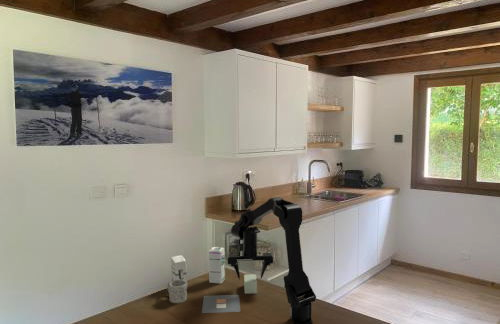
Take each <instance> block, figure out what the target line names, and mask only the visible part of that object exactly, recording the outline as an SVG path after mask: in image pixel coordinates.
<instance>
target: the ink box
mask: <svg viewBox="0 0 500 324" xmlns="http://www.w3.org/2000/svg"><path fill="white" fill-rule="evenodd" d="M170 263H171V265H170V266H171V281H174V280H184V281H186V282H187V283H188V273H187V272H188V270H187V260H186V259H185V257H184V256H183V255H182V254H181V255H174V256H171V257H170Z"/></svg>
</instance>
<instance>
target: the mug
mask: <svg viewBox="0 0 500 324" xmlns="http://www.w3.org/2000/svg"><path fill="white" fill-rule="evenodd" d="M187 290H188V281H187V282H186V281H184V280H174V281H172V280H171V281H168V282H167V293H168V295H169V302H170V303H172V304H181V303H184V302H186V301H187V300H188V298H187V297H188V293H187Z"/></svg>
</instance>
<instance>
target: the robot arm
mask: <svg viewBox="0 0 500 324" xmlns="http://www.w3.org/2000/svg"><path fill="white" fill-rule="evenodd" d="M271 213H273V216H276V217H277V218H278V221H279V224H280V226H281V227H282V229H283V230H284V235H285V243H286V244H285V245H286V254H287V255H286V256H287V265H288V272H287V275H284V276H283V281H284V282H283V283H284V286H283V287H284V289H285V293H286V298H287V299H286V300H287V303H288V304H289V305H290V309H289V310H290V315H289V316H290V319H291V321H292V322H293V324H313V320H312V303H314V302H315V301H316V299H317V295H316V294H315V291H314V290H313V287H312V286H311V284H310V281H309V276H308V275H307V274H306V272H305V271H304V268H303V267H304V266H303V257H302V247H301V246H302V245H301V237H300V236H301V235H300V228H301V225H302V222H303V209H302V207H301V206H300V205H299V204H298V203H294V202H291V201H289V200H285V199H283V198H282V197H279V196H277V197H270V198H269V199H268V200H267V201H265V202H264V203H261V204H260V205H259V206H257V207H256V208H255V209H252V210H249V211H248V210H247V211H245V212H242V213H241V214H240V217H239V220H236V221H234V224H233V225H232V227H231V229H230V233H231V235H232V236H234V237H236V238H238V239H240V240H242V241H243V242H242V243H238V251H239V252H242V255H238V253H228V254H227V265H230V267H233V269H234V271H235V272H236V275H237V278H238V280H240V278H241V277H240V276H241V275H240V270H239V269H240V268H239V263H238V262H244V261H245V262H247V261H250V262H251V261H255V262H256V261H261V266H260V279H263V276H264V273H265V271H266V270H267V268H268V266H270V265H271V264H273V263H274V255H273V254H272V253H271V252H262V255H258V233H259V234H260V233H261V230H260V229H259V228H258V225H259V224H261V222H262V221H263V218H264V217H266V216H269V214H271Z"/></svg>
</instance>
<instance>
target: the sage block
mask: <svg viewBox="0 0 500 324" xmlns="http://www.w3.org/2000/svg"><path fill="white" fill-rule="evenodd" d="M243 286H244V287H243V289H244V294H258V280H257V274H243Z"/></svg>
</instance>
